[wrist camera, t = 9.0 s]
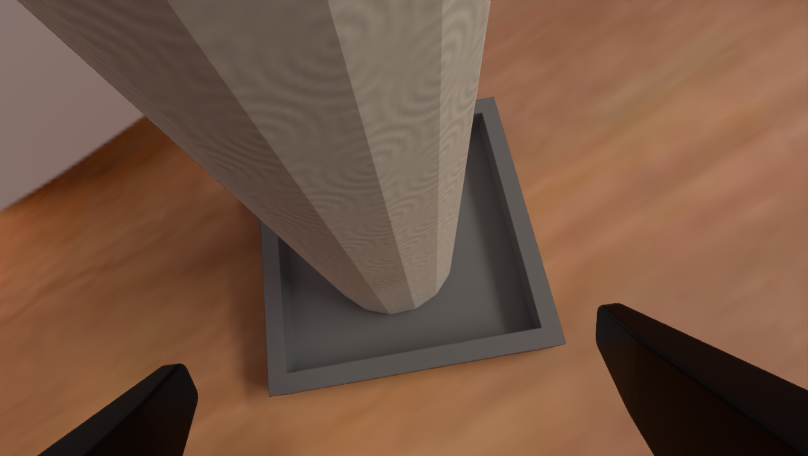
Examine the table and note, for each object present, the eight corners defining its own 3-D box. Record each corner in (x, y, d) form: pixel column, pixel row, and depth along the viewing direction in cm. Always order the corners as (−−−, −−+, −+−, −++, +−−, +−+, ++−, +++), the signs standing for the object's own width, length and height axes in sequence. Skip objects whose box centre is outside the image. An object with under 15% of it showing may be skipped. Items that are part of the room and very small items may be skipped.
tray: (553, 347, 19) (566, 343, 17) (284, 394, 19) (269, 396, 17) (489, 119, 23) (493, 96, 22) (270, 159, 24) (256, 140, 22)
